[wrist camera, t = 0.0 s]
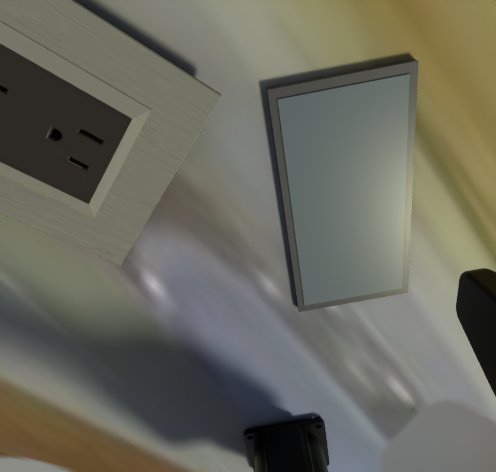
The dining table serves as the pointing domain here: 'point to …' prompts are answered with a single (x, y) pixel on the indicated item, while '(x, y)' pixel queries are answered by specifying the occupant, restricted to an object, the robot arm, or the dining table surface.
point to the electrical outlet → (89, 125)
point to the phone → (347, 181)
